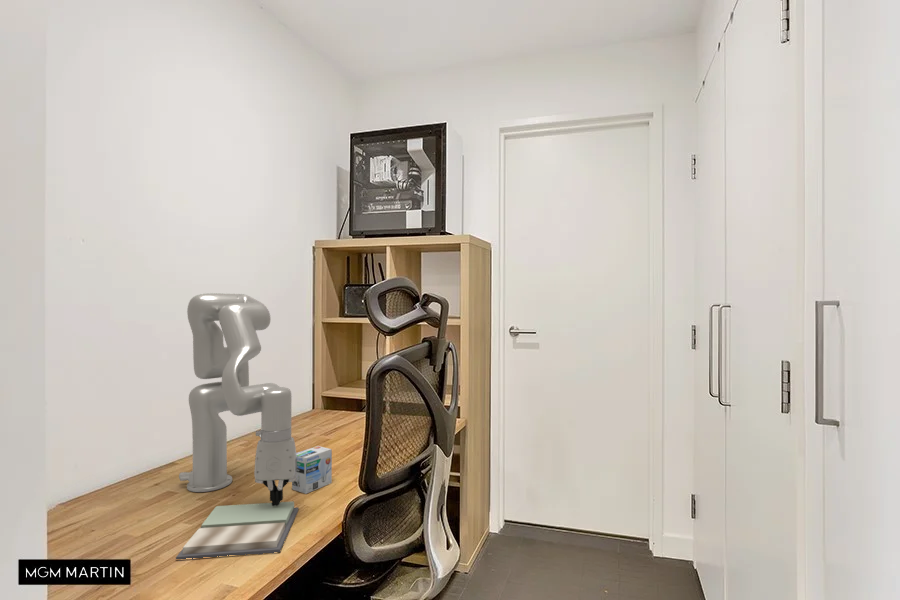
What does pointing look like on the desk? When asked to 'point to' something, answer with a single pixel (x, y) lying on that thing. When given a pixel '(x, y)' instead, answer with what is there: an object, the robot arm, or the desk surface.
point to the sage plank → (249, 514)
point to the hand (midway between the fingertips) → (276, 503)
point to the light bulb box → (313, 469)
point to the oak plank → (234, 538)
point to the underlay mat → (249, 551)
